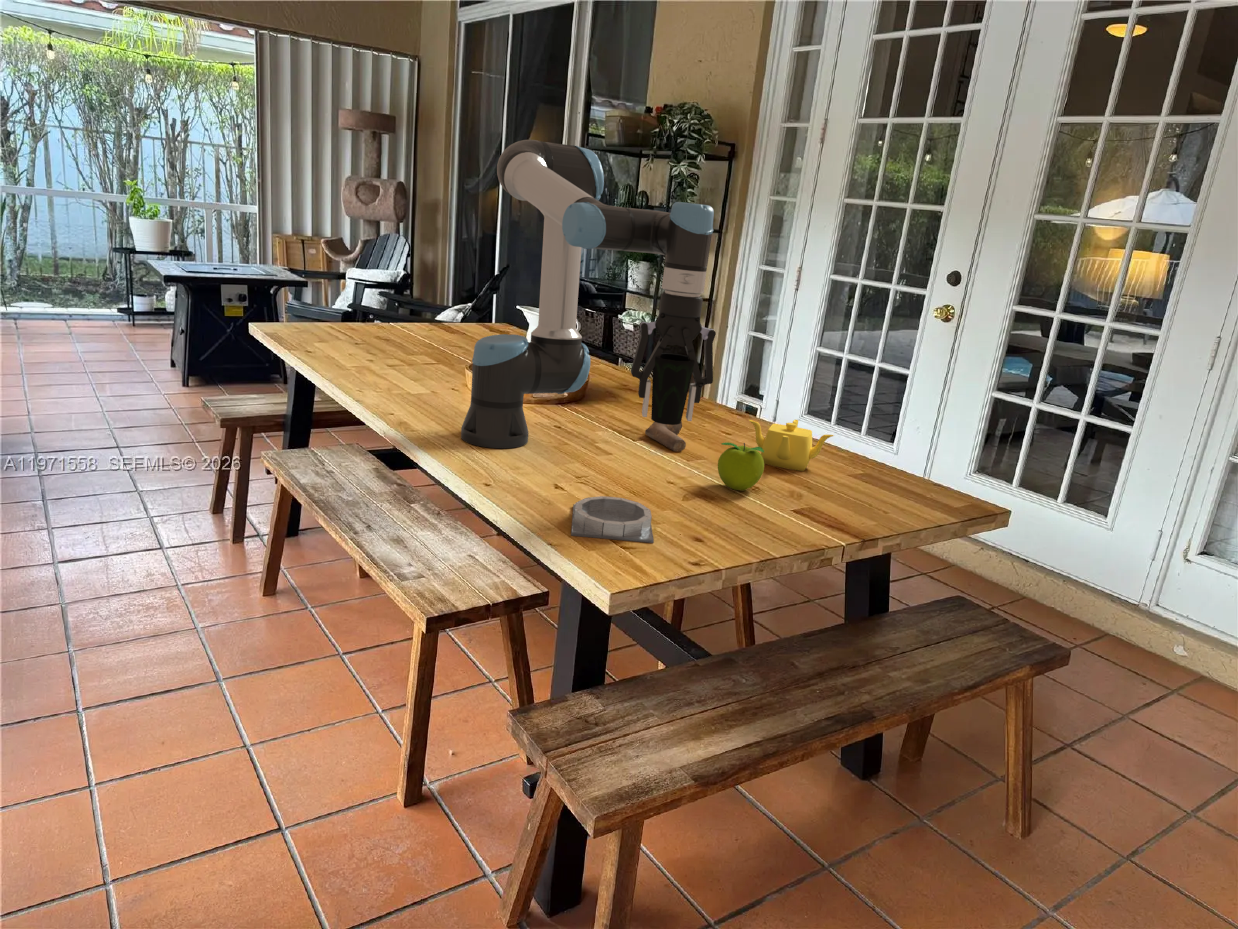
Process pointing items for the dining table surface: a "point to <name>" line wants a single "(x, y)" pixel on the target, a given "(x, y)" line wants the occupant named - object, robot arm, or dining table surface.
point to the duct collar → (612, 519)
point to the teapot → (788, 445)
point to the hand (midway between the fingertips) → (666, 417)
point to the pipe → (667, 435)
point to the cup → (670, 387)
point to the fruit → (740, 466)
